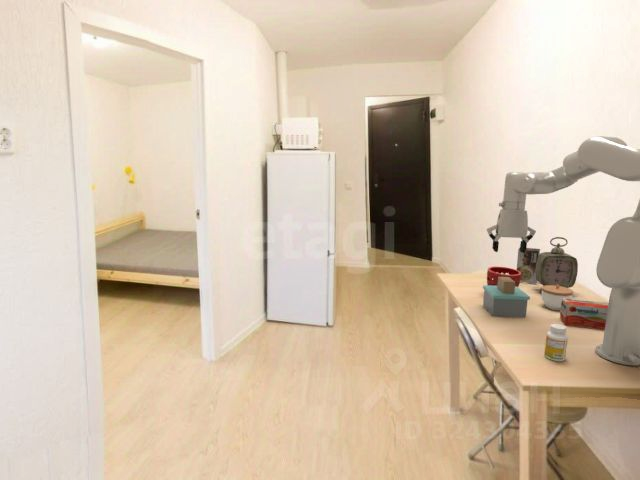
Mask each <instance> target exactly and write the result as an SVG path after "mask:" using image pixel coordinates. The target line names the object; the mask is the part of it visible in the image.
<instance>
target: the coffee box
mask: <svg viewBox="0 0 640 480" xmlns="http://www.w3.org/2000/svg"><path fill="white" fill-rule="evenodd" d="M540 253H541V248H533V247H526V250H525V253H522V252H520V247H519V248H518V249H517V258H516V259H517V261H516V270H518V271H520V272H521V279H520V283H523V282H527V283H526V284H531V283H532V285H537V283H538V281H537V279H536V274H535V273H536V263H537V258H538V256H539V254H540Z"/></svg>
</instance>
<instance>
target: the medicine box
mask: <svg viewBox="0 0 640 480" xmlns="http://www.w3.org/2000/svg"><path fill="white" fill-rule="evenodd" d="M608 303H609V302H608V301H607V302H605V301H596V300H588V299H587V300H584V299H577V298H576V299H573V298H572V299H566V298H563V299H562V303H561V309H560V310H559V316H560V318H559V319H560V320H561V321H562V322H563V325H564V326H568V327H577V328H585V329H586V328H587V329H595V330H603V331H605V324H606V317H607V310H608Z"/></svg>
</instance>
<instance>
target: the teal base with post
mask: <svg viewBox="0 0 640 480" xmlns="http://www.w3.org/2000/svg"><path fill="white" fill-rule="evenodd" d="M482 289H483V290H485V291H486V292H487V293H488V294H489V295H490V296H491V297H492V298H493V299H518V300H528V301H530V300H531V296H530V295H528V294H527V293H526V292H525V291H523V290H522V289H521V288H520V287H515V281H513V280H512V279H511V278H509V277H498V285H497V286H489V285H487V284H486V285H485V284H484V285H482Z"/></svg>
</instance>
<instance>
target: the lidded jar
mask: <svg viewBox="0 0 640 480" xmlns="http://www.w3.org/2000/svg"><path fill="white" fill-rule="evenodd" d="M541 290H542V293H541V300H542V302H543V304H544V305H545V306H546V308H547V309H549V310H553V311H560V309H561V303H562V299H563V298H566V299H573V298H572V297H573V293H574V291H573V290H572V289H571V288H566V287H562V286H559V285H556V286H555V285H545V286H543V285H542V287H541Z"/></svg>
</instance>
